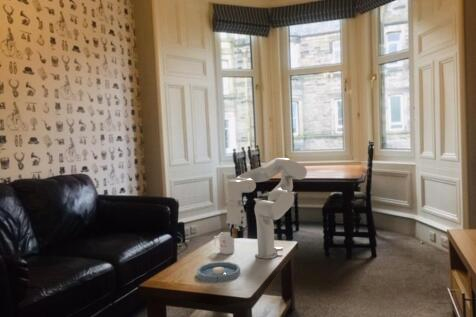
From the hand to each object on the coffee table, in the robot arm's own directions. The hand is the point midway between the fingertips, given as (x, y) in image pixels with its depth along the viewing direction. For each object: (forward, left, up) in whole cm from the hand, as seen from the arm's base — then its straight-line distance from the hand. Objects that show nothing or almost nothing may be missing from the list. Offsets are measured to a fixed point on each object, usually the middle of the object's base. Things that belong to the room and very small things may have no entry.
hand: (236, 236), depth 218 cm
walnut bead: (0, 0, 0) cm, 0 cm away
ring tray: (+13, +11, -15) cm, 23 cm away
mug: (+2, -23, -16) cm, 28 cm away
